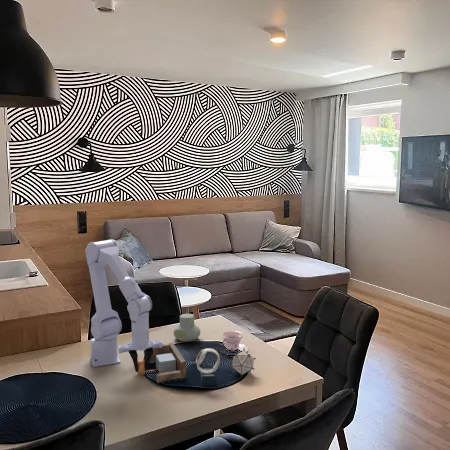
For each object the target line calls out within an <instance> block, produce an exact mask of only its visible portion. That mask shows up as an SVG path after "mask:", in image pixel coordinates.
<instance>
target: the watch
mask: <svg viewBox="0 0 450 450" xmlns="http://www.w3.org/2000/svg"><path fill="white" fill-rule="evenodd" d="M208 352H209V353H214V354H215V356H217V358H216V359H217V360H216V362H215V364H214V365H213V367H212V368H202V367H200V365H201V364H202V363H203V361H204V359H205V357H206V354H207V353H208ZM220 362H221V358H220V353H219V352H218V351H217V349H214V348H210V347H209V348H208V347H207V348H204V349H203V348H202V349H201V350H200V351H199V353H198V354H197V356H196V359H195V364H196V368H197V370H198V371H199V372H200V377H201V386H215V385H216V375H215V373H216V370H217V369H218V367H219V365H220Z"/></svg>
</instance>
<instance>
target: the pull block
mask: <svg viewBox="0 0 450 450" xmlns="http://www.w3.org/2000/svg"><path fill="white" fill-rule="evenodd" d="M137 364H138V372H136V373H137V374H136V375H138V376H144V375H146V373H145V372H148V371H154V370H158V371H159V372H158V371H157V372H158V374H159V373H165V372H170V371H176V359H175V358H174V356H173V355H172V353H168V354H161V355H156V363H155V368H156V367H157V368H156V369H150V370H146V371H145V360H144V359H138V362H137ZM154 372H155V371H154ZM148 373H149V372H148Z"/></svg>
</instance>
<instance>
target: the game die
mask: <svg viewBox="0 0 450 450" xmlns="http://www.w3.org/2000/svg"><path fill="white" fill-rule="evenodd" d="M244 350H245V349H243V351H242V352H240V353H238V354H236V353H235V356H231V358H232V364H231V366H229V369H230V368H231V369H234V370H235V372H237V373H238V374H239V375H241V376H240V378H243V376H244V375H245V374H247V373H252V372H251V371H252V370H255V368H254V361H255V360H256V357H253V356H251V354H250V353H248V352H247V353H246V352H245V351H244Z"/></svg>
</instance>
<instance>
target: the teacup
mask: <svg viewBox="0 0 450 450" xmlns="http://www.w3.org/2000/svg"><path fill="white" fill-rule="evenodd" d="M221 336H222V338H223V340H222V344H224V346H225V347H226V348H227V349H226V350H227V351H229V350H231V351H230V352H236V351H239V350H240V351H243V349H245V350H244V351H245V352H246V353H247V354H248V351H249V347H247V345H244V344H242V343H240V342H241V339H242V338H243V336H244V334H243V332H242V331H239V330H238V331H237V330H229V331H226V332H223V333H222V334H221ZM235 350H236V351H235ZM227 355H228V354H227ZM227 355H226V356H227Z"/></svg>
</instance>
